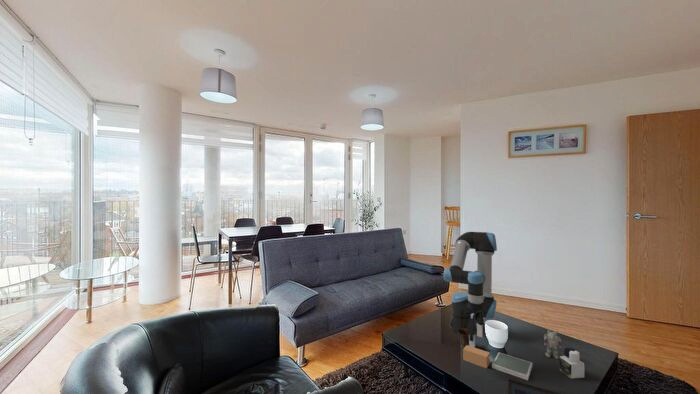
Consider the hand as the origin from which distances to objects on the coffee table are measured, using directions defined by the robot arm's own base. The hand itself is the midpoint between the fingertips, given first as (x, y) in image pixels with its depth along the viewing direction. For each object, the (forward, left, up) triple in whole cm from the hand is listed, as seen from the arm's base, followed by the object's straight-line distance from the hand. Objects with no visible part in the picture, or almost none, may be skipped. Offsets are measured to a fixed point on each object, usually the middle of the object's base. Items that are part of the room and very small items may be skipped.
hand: (476, 341), depth 155 cm
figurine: (+31, +30, -11) cm, 45 cm away
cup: (-9, +11, -11) cm, 18 cm away
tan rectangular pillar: (0, 0, -11) cm, 11 cm away
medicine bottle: (+40, +18, -11) cm, 45 cm away
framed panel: (+16, +6, -11) cm, 20 cm away
